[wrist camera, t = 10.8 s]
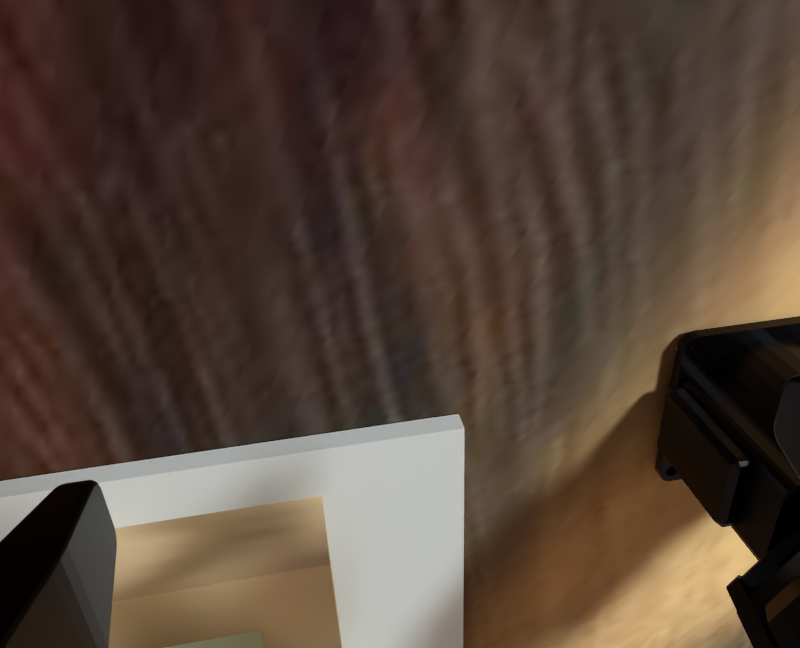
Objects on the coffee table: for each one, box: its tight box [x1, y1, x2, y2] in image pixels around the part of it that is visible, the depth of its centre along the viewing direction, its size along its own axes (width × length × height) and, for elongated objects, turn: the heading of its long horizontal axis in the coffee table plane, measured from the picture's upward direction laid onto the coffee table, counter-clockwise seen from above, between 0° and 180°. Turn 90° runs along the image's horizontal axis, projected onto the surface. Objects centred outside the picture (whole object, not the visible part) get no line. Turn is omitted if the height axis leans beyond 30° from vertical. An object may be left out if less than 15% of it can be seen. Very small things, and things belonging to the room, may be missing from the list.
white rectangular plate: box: [0, 414, 464, 648], centre depth 26 cm, size 20×14×1 cm
